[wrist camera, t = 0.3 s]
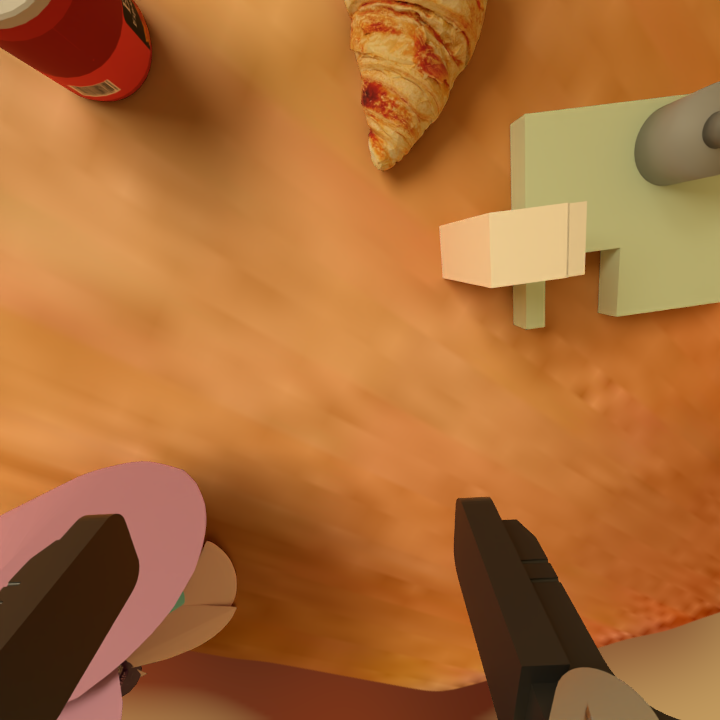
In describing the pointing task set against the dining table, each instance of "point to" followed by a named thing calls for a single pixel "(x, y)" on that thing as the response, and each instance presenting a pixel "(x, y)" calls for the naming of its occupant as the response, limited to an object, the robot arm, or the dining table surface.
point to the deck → (629, 197)
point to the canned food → (80, 43)
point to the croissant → (409, 65)
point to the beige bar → (516, 246)
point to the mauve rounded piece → (156, 572)
